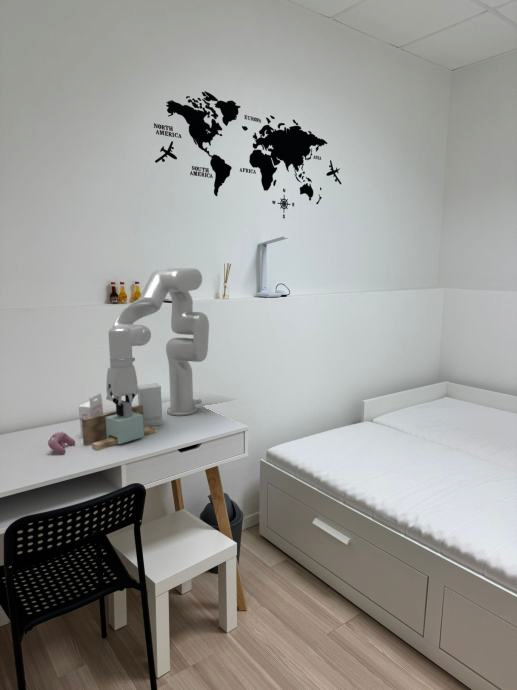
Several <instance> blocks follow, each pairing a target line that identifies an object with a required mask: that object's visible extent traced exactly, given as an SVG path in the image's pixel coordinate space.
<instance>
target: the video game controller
mask: <svg viewBox="0 0 517 690" xmlns="http://www.w3.org/2000/svg"><path fill="white" fill-rule="evenodd" d="M47 445H48V447H49V448H50V449H51V450H53V451H54V452H56V453H57V454H59V455H65V454H66V449H65V447H66V445H69V446H72V445H73V446H75V445H76V440H75V439H74V438H72V437H71V436H69V435H68V434H67V433H66V432H64V431H58V432H55V433H54V434H52V435H51V437H50V438H49V440H48V441H47Z"/></svg>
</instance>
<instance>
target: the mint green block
mask: <svg viewBox="0 0 517 690" xmlns="http://www.w3.org/2000/svg"><path fill="white" fill-rule="evenodd" d="M121 405H123V416H119V415H117V413H116V414H115V415H111V416H108V417H105V418H106V435H107V439H108V438H112V437H117V442H118V444H117V445H120V444H121V445H122V444H124V443H128V442H131V441H134V440H137V439H141V438H143V437H145V436H144V428H145V427H143V415H142V414H138V413H135V412H132V407H133V406H132V405H133V402H132V403H130V402H127V401H125V400H123V399H122V404H121Z"/></svg>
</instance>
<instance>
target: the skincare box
mask: <svg viewBox="0 0 517 690" xmlns="http://www.w3.org/2000/svg"><path fill="white" fill-rule="evenodd" d="M137 388H138V390H139V393H138V394H137V399H138V400H137V401H138V403H137V404H138V405H142V406H143V422H144V428H146V427H150V426H151V427H155V426H156V427H157V426H162V425H163V424H164V421H163V420H164V419H163V405H162V402H163V401H162V386H161V385H160V384H159V383H158V382H155V383H147V384H139V385H138V384H137ZM138 405H137V406H138Z"/></svg>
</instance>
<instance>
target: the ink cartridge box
mask: <svg viewBox="0 0 517 690" xmlns="http://www.w3.org/2000/svg"><path fill="white" fill-rule="evenodd" d="M95 399H96V400H95ZM78 413H79V414H78V415H79V426H80V427H79V428H80V437H81V438H83V431H82V419H85V418H90V417H94V416H98V415H102V414H104V409H103V399H102V393H101V392H100V393H97V394H96V395H93V396H91V397H90V398H89V401H87V402H85V403H83V404H81V405H79V406H78Z"/></svg>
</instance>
